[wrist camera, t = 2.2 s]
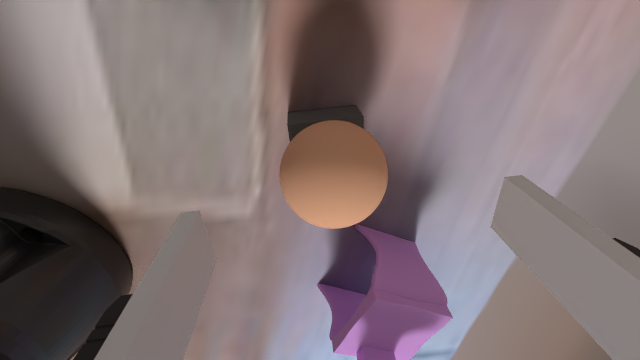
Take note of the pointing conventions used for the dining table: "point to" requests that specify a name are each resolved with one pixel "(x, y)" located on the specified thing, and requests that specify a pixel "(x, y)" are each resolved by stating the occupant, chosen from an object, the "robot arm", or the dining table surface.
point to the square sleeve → (322, 118)
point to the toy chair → (388, 304)
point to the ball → (333, 174)
